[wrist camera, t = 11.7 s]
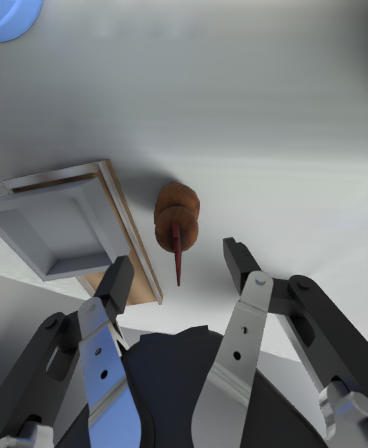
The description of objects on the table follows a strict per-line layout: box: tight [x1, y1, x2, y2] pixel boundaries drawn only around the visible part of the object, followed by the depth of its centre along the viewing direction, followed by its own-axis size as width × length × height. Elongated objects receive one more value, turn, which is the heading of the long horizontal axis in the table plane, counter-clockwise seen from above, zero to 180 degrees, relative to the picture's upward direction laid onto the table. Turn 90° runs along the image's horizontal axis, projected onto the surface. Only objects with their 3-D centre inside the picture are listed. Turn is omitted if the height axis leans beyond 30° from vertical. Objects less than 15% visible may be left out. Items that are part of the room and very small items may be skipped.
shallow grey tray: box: [0, 177, 131, 282], centre depth 21 cm, size 12×12×6 cm
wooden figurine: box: [154, 183, 200, 286], centre depth 18 cm, size 7×6×15 cm
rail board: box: [1, 159, 163, 306], centre depth 28 cm, size 14×31×3 cm, turn 10°
